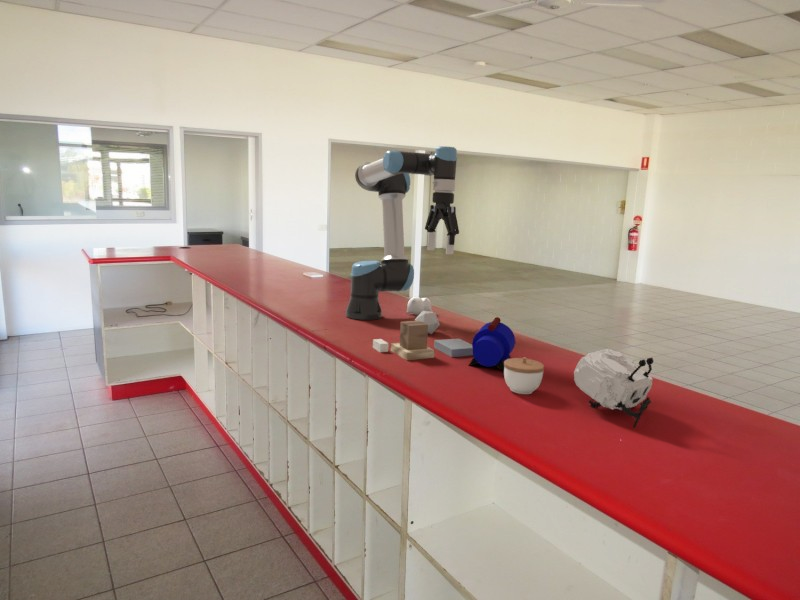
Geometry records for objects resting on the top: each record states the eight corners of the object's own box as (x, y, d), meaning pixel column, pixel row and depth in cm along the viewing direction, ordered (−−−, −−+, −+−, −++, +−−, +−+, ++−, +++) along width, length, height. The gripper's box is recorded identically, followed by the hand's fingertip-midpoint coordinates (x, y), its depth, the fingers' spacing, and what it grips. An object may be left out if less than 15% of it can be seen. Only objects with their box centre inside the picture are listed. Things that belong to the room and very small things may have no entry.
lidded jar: (494, 385, 158) (497, 353, 156) (526, 382, 162) (529, 351, 160) (516, 399, 148) (519, 364, 146) (549, 395, 152) (553, 361, 150)
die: (442, 333, 218) (433, 310, 221) (442, 327, 209) (433, 303, 213) (421, 340, 217) (412, 317, 221) (420, 334, 209) (411, 310, 212)
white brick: (372, 348, 191) (373, 339, 190) (380, 347, 192) (381, 338, 192) (379, 352, 185) (380, 344, 185) (388, 352, 187) (388, 343, 186)
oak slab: (390, 351, 189) (390, 343, 188) (416, 349, 193) (417, 341, 192) (406, 362, 178) (407, 352, 177) (434, 359, 182) (434, 350, 182)
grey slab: (433, 348, 195) (434, 340, 194) (458, 346, 199) (459, 338, 198) (451, 358, 184) (451, 349, 184) (477, 356, 188) (477, 347, 188)
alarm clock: (514, 364, 179) (518, 318, 177) (504, 374, 168) (508, 325, 166) (477, 358, 184) (481, 313, 182) (465, 367, 173) (469, 320, 171)
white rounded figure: (428, 291, 252) (409, 292, 244) (442, 307, 246) (422, 309, 238) (419, 305, 256) (400, 307, 248) (432, 321, 251) (413, 324, 243)
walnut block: (399, 345, 186) (400, 321, 184) (418, 343, 189) (419, 320, 187) (407, 350, 180) (408, 325, 179) (426, 348, 184) (428, 324, 182)
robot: (621, 442, 133) (652, 380, 125) (557, 393, 147) (582, 335, 139) (659, 427, 143) (690, 368, 136) (596, 383, 157) (621, 327, 149)
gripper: (417, 190, 208) (414, 248, 212) (452, 192, 186) (448, 256, 190) (435, 191, 211) (432, 248, 215) (471, 193, 189) (467, 256, 193)
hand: (439, 252), depth 202 cm, fingers open, 13 cm apart
